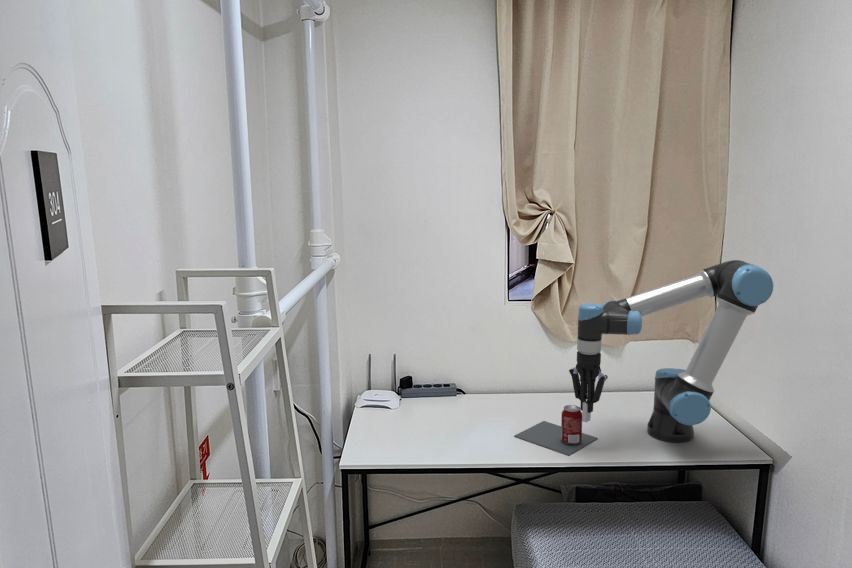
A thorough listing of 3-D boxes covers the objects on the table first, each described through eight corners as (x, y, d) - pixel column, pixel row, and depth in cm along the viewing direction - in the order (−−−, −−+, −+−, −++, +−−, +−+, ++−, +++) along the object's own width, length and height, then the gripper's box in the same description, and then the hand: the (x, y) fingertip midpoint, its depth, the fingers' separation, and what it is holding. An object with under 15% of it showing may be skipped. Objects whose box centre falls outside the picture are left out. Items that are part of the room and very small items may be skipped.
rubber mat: (597, 438, 215) (597, 437, 215) (569, 456, 202) (569, 454, 202) (543, 421, 230) (543, 420, 230) (514, 436, 217) (514, 435, 217)
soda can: (581, 446, 208) (582, 412, 206) (560, 445, 209) (561, 411, 207) (581, 438, 214) (582, 405, 212) (560, 437, 216) (561, 403, 214)
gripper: (613, 352, 200) (610, 422, 204) (577, 345, 209) (574, 412, 213) (601, 358, 195) (598, 429, 199) (565, 350, 204) (562, 418, 208)
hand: (586, 420), depth 206 cm, fingers closed
